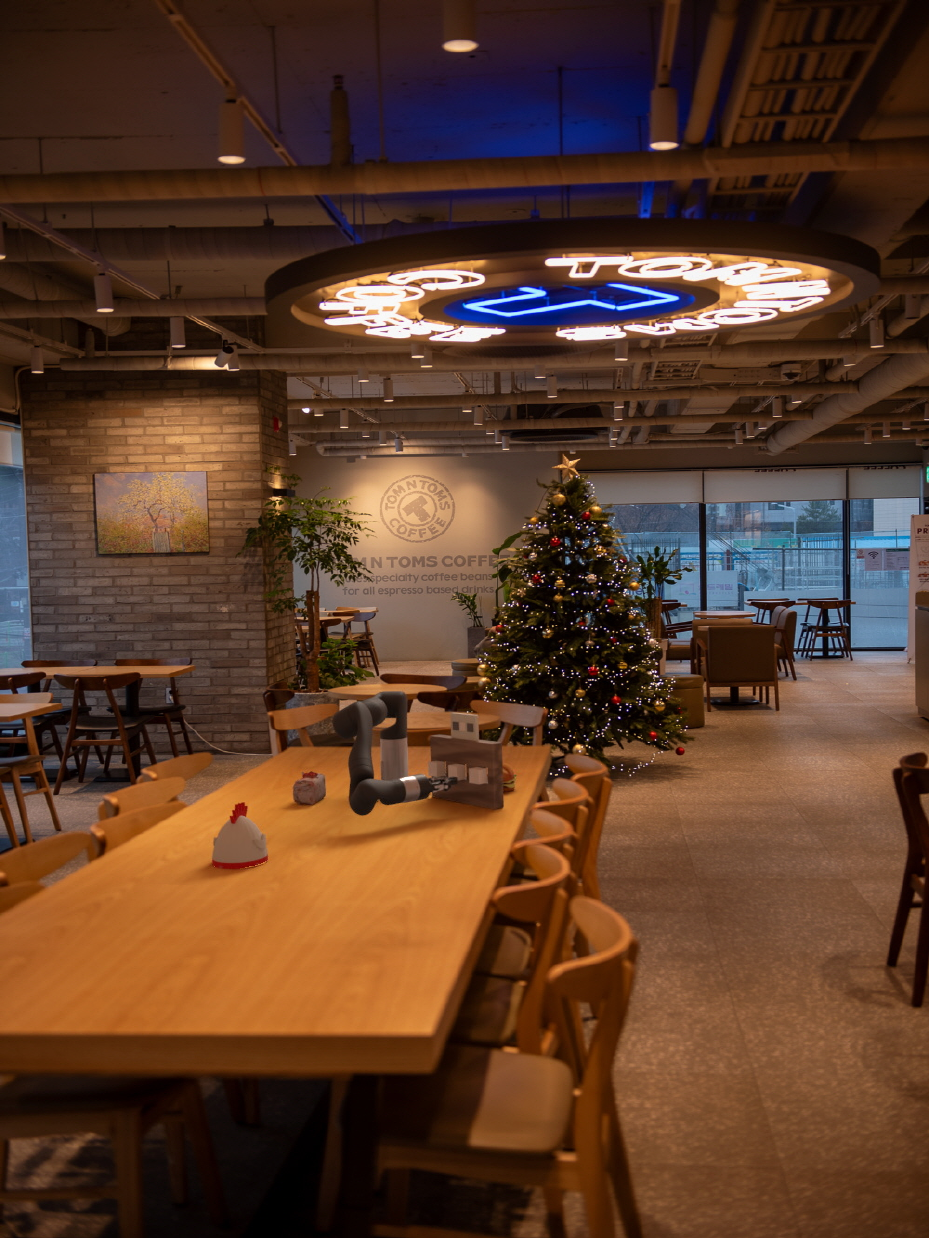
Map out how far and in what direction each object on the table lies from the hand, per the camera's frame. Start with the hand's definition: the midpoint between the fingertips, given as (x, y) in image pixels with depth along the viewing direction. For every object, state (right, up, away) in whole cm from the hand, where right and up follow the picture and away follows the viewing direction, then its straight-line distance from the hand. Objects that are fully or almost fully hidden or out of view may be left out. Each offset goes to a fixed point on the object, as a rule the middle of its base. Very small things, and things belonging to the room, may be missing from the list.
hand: (455, 780), depth 324 cm
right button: (+7, -2, +6) cm, 9 cm away
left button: (-6, -2, +21) cm, 22 cm away
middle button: (0, -2, +13) cm, 14 cm away
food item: (-48, -11, +24) cm, 55 cm away
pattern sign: (+3, +11, +15) cm, 19 cm away
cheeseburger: (+15, -9, +35) cm, 39 cm away
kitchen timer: (-54, -13, -52) cm, 76 cm away
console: (+3, -9, +16) cm, 19 cm away
